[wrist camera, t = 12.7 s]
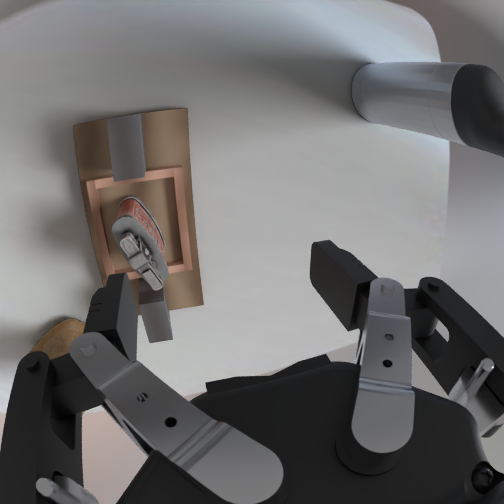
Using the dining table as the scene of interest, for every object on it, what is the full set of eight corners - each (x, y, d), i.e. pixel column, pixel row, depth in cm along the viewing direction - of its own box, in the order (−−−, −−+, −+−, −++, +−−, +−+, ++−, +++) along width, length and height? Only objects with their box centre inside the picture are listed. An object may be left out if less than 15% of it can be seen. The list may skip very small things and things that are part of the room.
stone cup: (64, 295, 36) (42, 375, 24) (120, 344, 43) (120, 424, 30) (15, 341, 37) (-7, 413, 24) (66, 381, 43) (59, 452, 30)
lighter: (113, 204, 32) (100, 239, 24) (137, 189, 32) (131, 219, 24) (148, 257, 36) (149, 304, 28) (171, 243, 37) (178, 288, 28)
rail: (186, 108, 31) (194, 107, 25) (201, 298, 43) (212, 332, 37) (76, 124, 28) (57, 129, 22) (115, 312, 40) (112, 348, 34)
